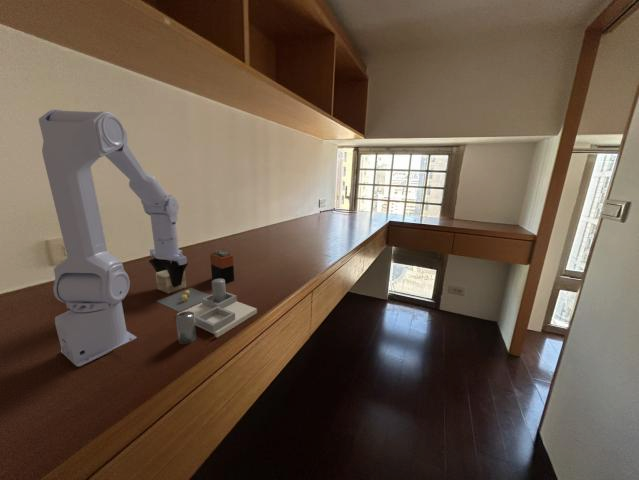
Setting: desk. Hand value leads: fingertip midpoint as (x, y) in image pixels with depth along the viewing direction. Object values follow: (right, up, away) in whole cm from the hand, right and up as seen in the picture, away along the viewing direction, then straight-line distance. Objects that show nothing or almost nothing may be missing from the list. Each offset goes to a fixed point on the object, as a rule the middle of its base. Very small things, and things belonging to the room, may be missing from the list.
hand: (170, 283), depth 74 cm
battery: (+12, -1, +9) cm, 15 cm away
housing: (0, -1, +1) cm, 2 cm away
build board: (+18, -6, -12) cm, 23 cm away
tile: (+7, -4, -5) cm, 9 cm away
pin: (+16, -8, -22) cm, 28 cm away
